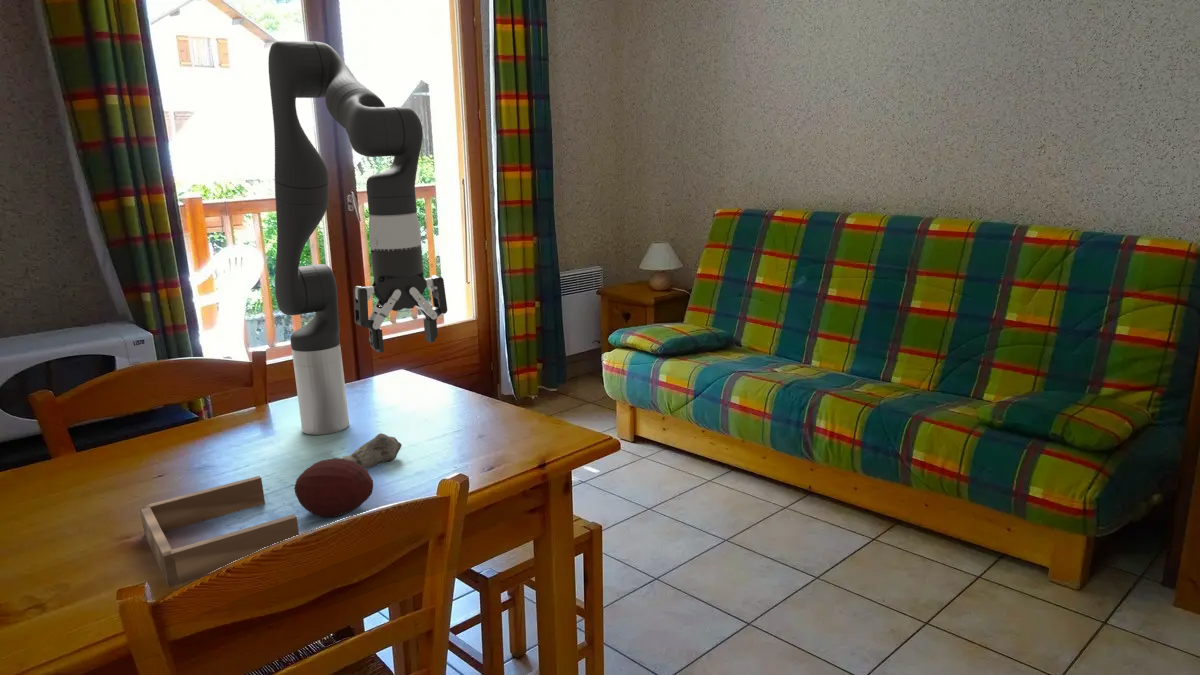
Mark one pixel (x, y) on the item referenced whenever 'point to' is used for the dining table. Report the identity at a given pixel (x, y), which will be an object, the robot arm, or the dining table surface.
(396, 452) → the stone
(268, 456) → the dining table surface
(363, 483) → the potato
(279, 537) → the corral
